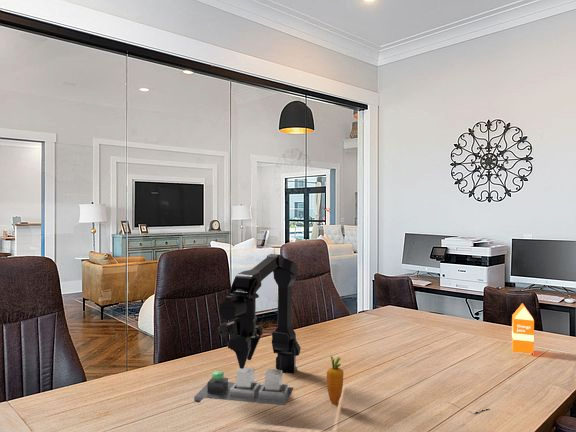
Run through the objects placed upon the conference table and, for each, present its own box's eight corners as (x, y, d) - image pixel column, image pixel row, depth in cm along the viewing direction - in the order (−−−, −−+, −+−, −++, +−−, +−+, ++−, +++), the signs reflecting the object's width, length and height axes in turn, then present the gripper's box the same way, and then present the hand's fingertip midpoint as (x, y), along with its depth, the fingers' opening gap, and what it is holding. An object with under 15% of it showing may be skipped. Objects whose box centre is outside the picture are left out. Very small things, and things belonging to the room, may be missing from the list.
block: (282, 392, 147) (282, 370, 147) (279, 397, 143) (279, 374, 143) (268, 391, 148) (268, 368, 148) (264, 396, 144) (265, 373, 144)
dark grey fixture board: (293, 391, 151) (293, 378, 151) (285, 409, 138) (285, 394, 138) (210, 384, 157) (210, 371, 157) (194, 400, 143) (194, 386, 143)
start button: (225, 376, 150) (225, 371, 150) (221, 380, 147) (221, 375, 147) (214, 375, 151) (214, 370, 151) (210, 379, 147) (210, 374, 147)
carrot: (325, 403, 142) (325, 353, 142) (341, 403, 142) (342, 353, 142) (327, 410, 137) (328, 358, 137) (344, 410, 138) (345, 358, 137)
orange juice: (512, 353, 195) (513, 305, 195) (511, 348, 204) (512, 301, 203) (533, 356, 192) (534, 307, 192) (531, 350, 201) (532, 303, 200)
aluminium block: (253, 389, 149) (254, 367, 149) (250, 395, 145) (250, 372, 144) (240, 388, 150) (240, 366, 150) (236, 394, 145) (236, 371, 145)
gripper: (230, 306, 157) (230, 353, 158) (211, 319, 139) (210, 372, 139) (263, 308, 155) (262, 355, 156) (247, 321, 137) (247, 375, 137)
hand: (245, 364), depth 147 cm, fingers open, 8 cm apart
